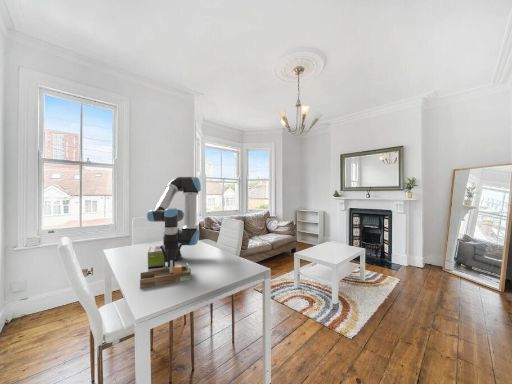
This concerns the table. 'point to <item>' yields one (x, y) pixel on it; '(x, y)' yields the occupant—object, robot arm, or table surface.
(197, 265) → the table surface
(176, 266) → the block
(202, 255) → the table surface
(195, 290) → the table surface
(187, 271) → the track
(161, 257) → the tea box
